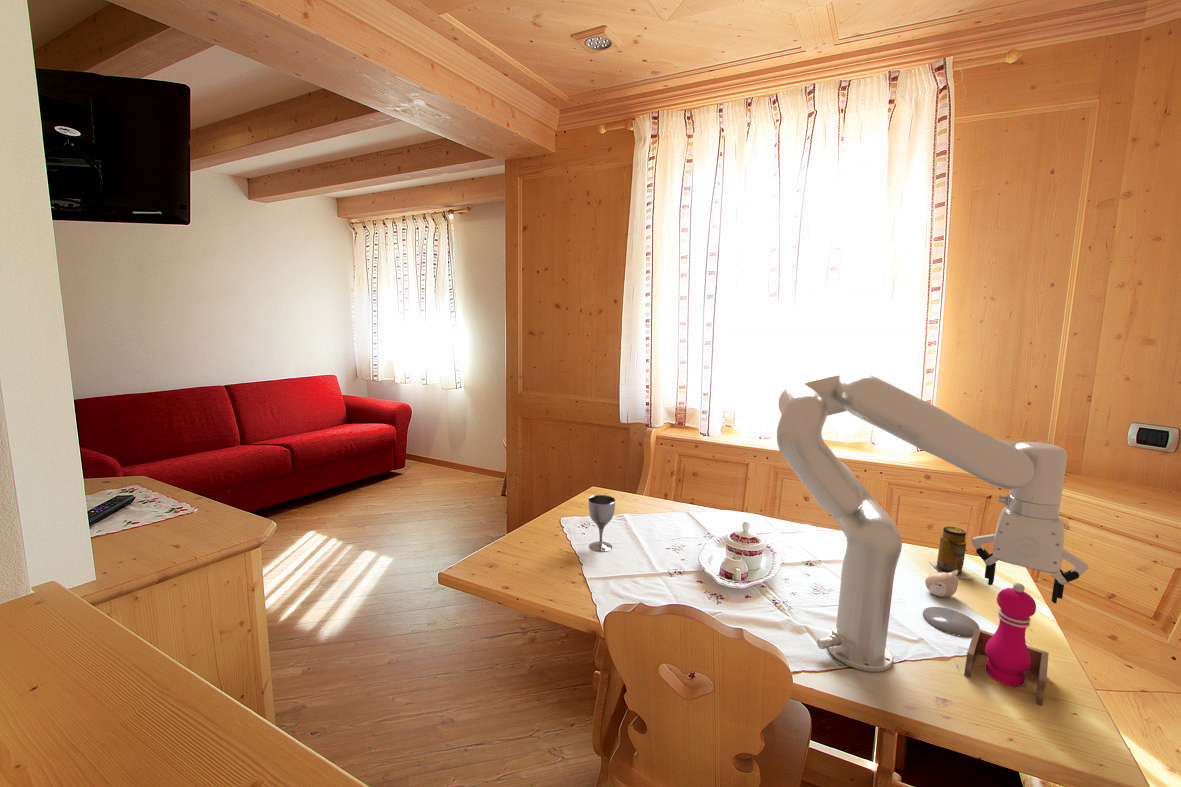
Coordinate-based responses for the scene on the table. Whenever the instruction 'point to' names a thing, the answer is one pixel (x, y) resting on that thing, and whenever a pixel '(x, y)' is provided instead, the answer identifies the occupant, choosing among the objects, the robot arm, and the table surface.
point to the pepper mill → (1010, 637)
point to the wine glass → (601, 518)
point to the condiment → (952, 552)
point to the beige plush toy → (942, 583)
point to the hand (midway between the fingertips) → (1021, 591)
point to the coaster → (950, 621)
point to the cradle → (1037, 667)
